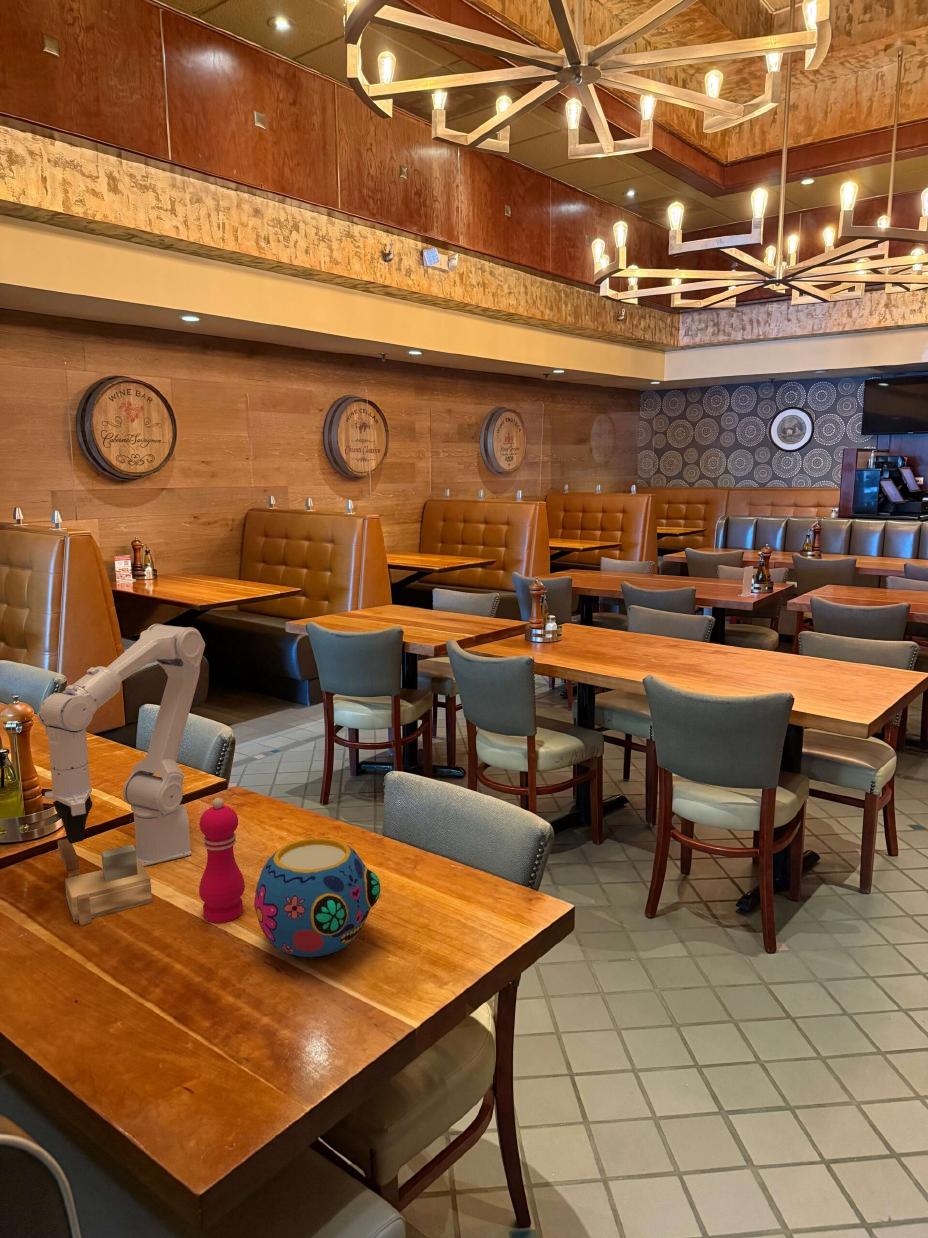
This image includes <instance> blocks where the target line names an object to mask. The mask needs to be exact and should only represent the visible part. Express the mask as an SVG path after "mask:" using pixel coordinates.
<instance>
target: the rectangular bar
mask: <svg viewBox="0 0 928 1238" xmlns="http://www.w3.org/2000/svg"><path fill="white" fill-rule="evenodd" d="M73 844H74V843H71V844H70V843H69V841H68V838H65V839H64V838H63V839H58V840H57V847H58V848H57V850H58V852H59V855H60V859H61V860H62V864H63V866H64V869H65V871H66V873H69V872H73V871H77V870H80V860H79V857H78V854H77V852H76V850H75V847H74V845H73Z"/></svg>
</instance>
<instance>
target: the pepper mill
mask: <svg viewBox="0 0 928 1238" xmlns="http://www.w3.org/2000/svg"><path fill="white" fill-rule="evenodd" d="M224 802H225V801H224V799H223V798H221V797H215V798H214V799H213V800H212V804H211V805H212V806H211V807H209V808H207V809H206V810H204V812H203V813H202V815H201V816H200V818H199V819H200V820H199V830H200V832H201V834H202V835H204V837H203V846H204V848H205V849H206V851H207V854H206V855H207V859H206V861H207V862H206V865H205V869H204V871H203V874H202V876H201V878H200V881H199V887H198V895H199V898H200V899H201V901H202V902H203V905H202V912H203V913H202V915H203V918H204V919H205V920H206V921H208V922H211V923H215V924H216V923H217V924H221V923H228V922H231V921H233V920H235V919H237V918H239V917H240V916H241V915H242V913H243V912H244V911H243V910H244V906H243V905H244V904H243V899H242V896H243V895H244V893H245V889H246V884H245V879H244V876H243V873H242V871H241V869H240V867H239V866H238V864H237V861H236V859H235V853H234V846H235V844H236V843H237V839H236V836H237V834H236V833H235V831H236V830H237V828H238V826H239V817H238V813H236V810H235V809H234V808H232V807H231V806H228V805H225V803H224Z"/></svg>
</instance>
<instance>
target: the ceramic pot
mask: <svg viewBox="0 0 928 1238" xmlns="http://www.w3.org/2000/svg"><path fill="white" fill-rule="evenodd" d="M380 882H381V881H380V879H379V877H378V875H377V874H376V873H375V872H374V871H372V870H371V869H369V868H368V867H367V866H366V864H365V863H364V862H363V860H362V858H361V856H359V855H358V853H357V852H356V851H355V849H353V848H352V847H350V846H349V845H347V844H346V843H344V842H342V841H341V840H336V839H333V838H325V837H315V838H314V837H313V838H312V837H311V838H305V839H299V840H296V841H292V842H290V843H287V844H286V845H284V846H281V847H280V848H279V849H277V850H276V851H275V852H274V853H273V854H272V855H271V856H270V857H269V858H268V860H267V861H266V862H265V864H264V865H263V868H262V870H261V871H260V875H259V878H258V881H257V884H256V888H255V894H254V899H253V900H254V905H253V906H254V909H255V914H256V917H257V920H258V923H259V927H260V930H261V932H262V933H263V935H264V936H265V937H266V938H267V940H268V941H269V942H270V943H271V944H272V946H273V947H275V948H276V949H278V950H280V951H281V952H282V953H285V954H286V955H287V954H288V955H292V956H295V957H296V956H297V957H302V958H315V957H322V956H327V955H331V954H332V953H333V954H334V953H336V952H338V951H340V950H342V949H343V948H345V947H347V946H348V945H349V944H351V943H352V942H353V941H354V940H355V939H356V938H357V936H358V935H359V933H360V932H361V930H363V929H362V928H363V927H364V925H365V923H366V921H367V918H368V917H369V913H370V911H371V910H372V908H373V907H374V906H375V905H376V904H377V902H378V900H379V898H380V895H381V883H380Z"/></svg>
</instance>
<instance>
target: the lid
mask: <svg viewBox="0 0 928 1238" xmlns="http://www.w3.org/2000/svg"><path fill="white" fill-rule="evenodd" d="M135 848H136V847H135V846H134V845H133V844H130V845H125V846H120V847H117V848H112V849H108V850H103V851H101V853H100V854H101V865H102V869H100V870H97V871H92V872H88V873H83V874H80V875H78V876H74V877H70V878H69V877H66V878H65V879H64V881H65V883H66V885H65V887H66V886H67V889H68V891H69V894H70V897H71V900H72V902H76V901H77V896H79V895H83V894H87V893H88V895H89V898H92V897H96V896H100V895H104V894H108V893H112V892H115V891H119V890H123V889H127V888H131V887H135V886H139V885H143V884H147V883H151V877H150V875H149V874H148V872H147V870H146V869H145V866H143V865H142V863H141V861H137V858H136V849H135ZM151 884H152V883H151Z"/></svg>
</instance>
